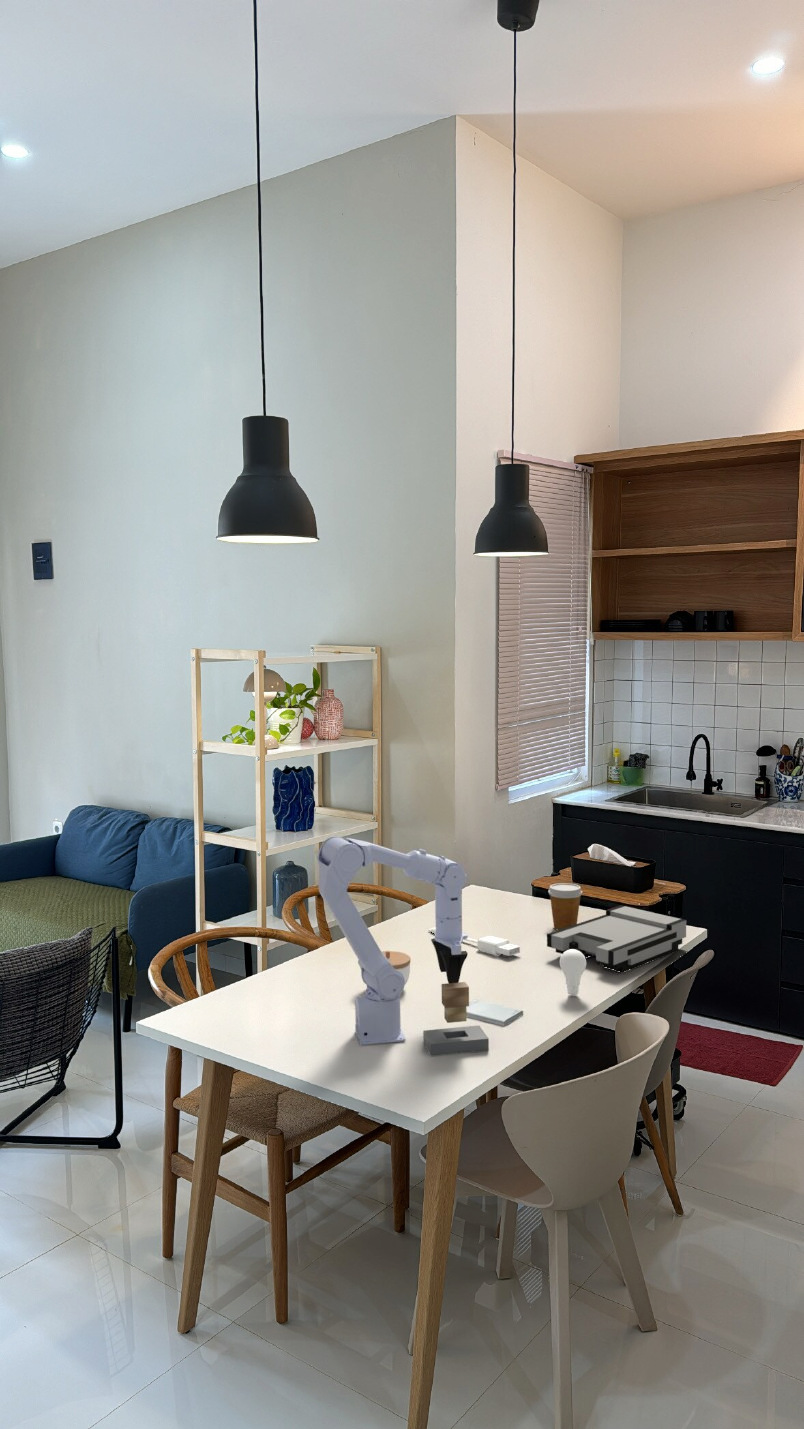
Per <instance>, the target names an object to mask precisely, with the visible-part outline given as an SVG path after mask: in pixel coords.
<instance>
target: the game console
mask: <svg viewBox="0 0 804 1429" xmlns="http://www.w3.org/2000/svg"><path fill="white" fill-rule="evenodd" d="M685 938H687V920H686V919H682V918H678V917H674V916H670V915H669V916H668V915H666V914H665V915H664V914H660V913H655V912H653V911H647V910H643V909H638V908H635V907H630V906H626V905H625V906H624V905H622V904H621V905H617V906H614V907H611V908H608V909H606V910H605V914H603V915H599V916H597V917H593V918H591V919H588V920H585V921H583V922H579V923H578V922H577V924H575V925H572V926H569V927H566V928H563V929H560V930H555V931H552V932H549V933H546V947H548V948H551V949H555V953H559V954H561V955H562V954H563V953H564V952H565V951H567V950H569V949H576V950H578V951H580V952H581V953H582V954H583V955H584V956H585V958H586V957H588V956H591V957H593V956H592V955H594V956H596V957H595V961H596V964H597V965H600V966H602V968H604V967H607V968H610V969H609V970H611V969H614V970H616V972H617V971H620V972H619V973H621V972H624V971H626V972H629V971H630V970H629V969H631V970H634V969H636V968H639V967H641V966H644V965H646V964H648V963H647V962H649V963H651V962H653V961H652V960H654V961H656V960H658V959H657V958H659V959H661V958H664V957H666V956H668V955H671V954H673V953H676V952H678V951H679V946H680V945H683V939H685ZM663 956H664V957H663ZM586 959H587V958H586ZM655 959H656V960H655ZM650 961H651V962H650ZM645 963H646V964H645ZM643 964H644V965H643ZM640 965H641V966H640ZM638 966H639V967H638ZM635 967H636V968H635ZM607 968H606V969H607ZM633 968H634V969H633ZM614 970H613V971H614ZM628 970H629V971H628ZM624 973H625V972H624Z"/></svg>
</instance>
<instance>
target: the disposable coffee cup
mask: <svg viewBox="0 0 804 1429" xmlns="http://www.w3.org/2000/svg"><path fill="white" fill-rule="evenodd" d="M582 894H583V890H582V888H581V886H580V885H578V884H575V883H566V882H564V883H563V882H562V883H561V882H559V883H553V884H550V885H549V889H548V895H549V899H550V905H551V915H552V922H553V928H555V929H554V930H556V929H558V930H560V929H563V928H566V927H569V926H572V925H575V924H578V919H579V918H578V917H579V910H580V902H581V896H582Z"/></svg>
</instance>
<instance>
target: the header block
mask: <svg viewBox="0 0 804 1429" xmlns="http://www.w3.org/2000/svg"><path fill="white" fill-rule="evenodd" d="M422 1034H423V1037H422V1039H423V1045H424V1046H425V1047H426V1049H427V1051H428V1053H429V1055H430V1057H434V1056H435V1057H436V1056H446V1055H455V1054H456V1055H457V1054H466V1053H475V1052H476V1053H477V1052H485V1051H487V1052H488V1051H489V1050H490V1046H489V1044H490V1043H489V1037H488V1036H487V1034H486V1033H485V1032H484V1029H483V1028H482V1027H481V1026H480V1025H469V1026H460V1027H448V1028H437V1029H426V1030H425V1029H424V1030H423V1032H422Z"/></svg>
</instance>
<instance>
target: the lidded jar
mask: <svg viewBox="0 0 804 1429" xmlns="http://www.w3.org/2000/svg"><path fill="white" fill-rule="evenodd" d="M381 952H382V953H383V954H384V956H385V957H386V958H387V959H388V960H389V962H390V963H391V965H392V966H393V968H394V969H396V970H398V971H399V972H400V973H401V974H402V975H403V977H404V980H405V986H406V984H407V983H408V981H409V978H410V973H411V957H410V955H409V954H407V953H404V952H400V951H390V950H385V951H381Z"/></svg>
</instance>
